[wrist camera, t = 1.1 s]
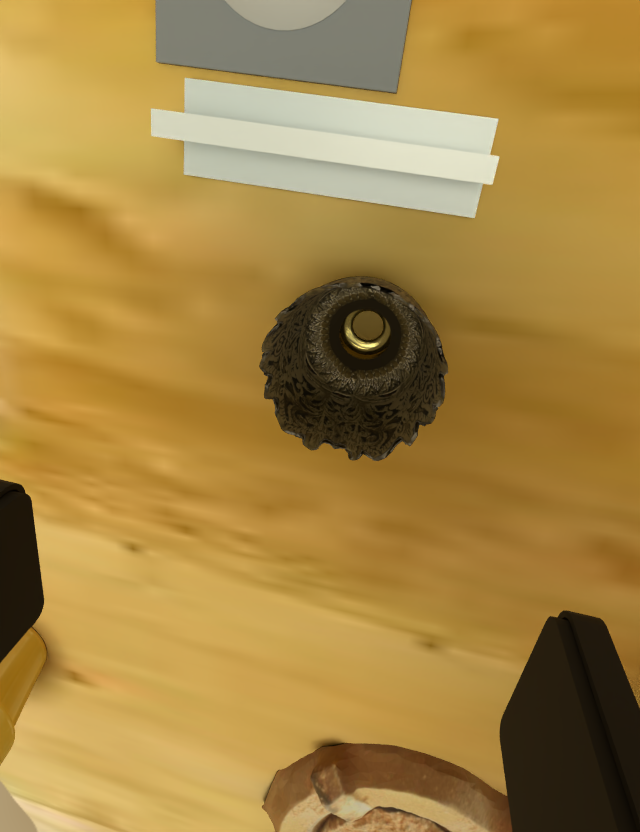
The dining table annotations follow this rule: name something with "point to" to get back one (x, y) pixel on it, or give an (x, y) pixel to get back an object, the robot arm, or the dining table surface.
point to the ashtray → (382, 794)
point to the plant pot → (18, 683)
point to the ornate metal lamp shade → (354, 368)
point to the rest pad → (288, 39)
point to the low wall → (333, 146)
